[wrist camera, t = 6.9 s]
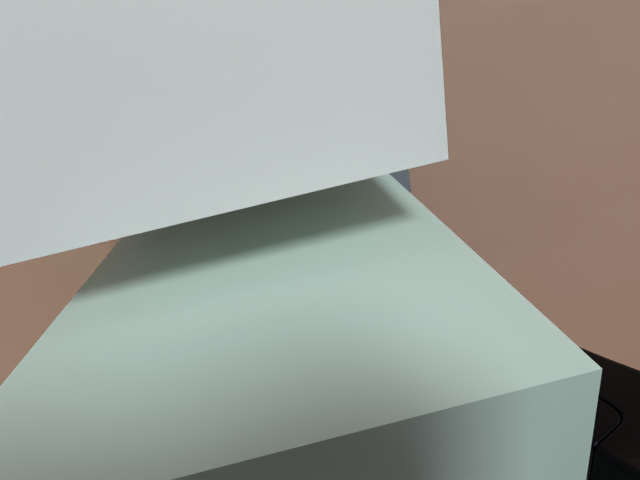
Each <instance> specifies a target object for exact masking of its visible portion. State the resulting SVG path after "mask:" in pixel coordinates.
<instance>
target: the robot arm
mask: <svg viewBox="0 0 640 480" xmlns="http://www.w3.org/2000/svg"><path fill="white" fill-rule="evenodd" d="M579 348H580V347H579ZM580 349H581V350H582V351H584V352H585V353H586V354H587V355H588V356H589V357H590V358H591V359H592V360H593V361H594V362H596V363H597V364H598V365H599V366H600V367H601V368H602V375H601V382H600V388H599V395H598V402H597V409H596V416H595V423H594V430H593V437H592V444H591V450H590V457H589V464H588V471H587V478H586V480H640V371H639V370H636V369H634V368H631V367H628V366H626V365H623V364H620V363H618V362H615V361H612V360H610V359H607V358H605V357H602V356H600V355H597V354H595V353H592V352H590V351H588V350H585V349H583V348H580Z"/></svg>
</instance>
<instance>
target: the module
mask: <svg viewBox="0 0 640 480" xmlns="http://www.w3.org/2000/svg"><path fill="white" fill-rule="evenodd" d="M601 375H602V368H601V367H600V366H599V365H598V364H597V363H596V362H594V361H593V360H592V359H591V358H590V357H589V356H588V355H587V354H586V353H585V352H584V351H582V350H581V349H580V348H579V347H578V346H577V345H576V344H575V343H574V342H573V341H572V340H570V339H569V338H568V337H567V336H566V335H565V334H564V333H563V332H562V331H561V330H559V329H558V328H557V327H556V326H555V325H554V324H553V323H552V322H551V321H550V320H549V319H547V318H546V317H545V316H544V315H543V314H542V313H541V312H540V311H539V310H538V309H537V308H535V307H534V306H533V305H532V304H531V303H530V302H529V301H528V300H527V299H526V298H525V297H523V296H522V295H521V294H520V293H519V292H518V291H517V290H516V289H515V288H514V287H512V286H511V285H510V284H509V283H508V282H507V281H506V280H505V279H504V278H503V277H502V276H500V275H499V274H498V273H497V272H496V271H495V270H494V269H493V268H492V267H491V266H490V265H488V264H487V263H486V262H485V261H484V260H483V259H482V258H481V257H480V256H479V255H478V254H476V253H475V252H474V251H473V250H472V249H471V248H470V247H469V246H468V245H467V244H465V243H464V242H463V241H462V240H461V239H460V238H459V237H458V236H457V235H456V234H455V233H453V232H452V231H451V230H450V229H449V228H448V227H447V226H446V225H445V224H444V223H443V222H441V221H440V220H439V219H438V218H437V217H436V216H435V215H434V214H433V213H432V212H431V211H429V210H428V209H427V208H426V207H425V206H424V205H423V204H422V203H421V202H420V201H418V200H417V199H416V198H415V197H414V196H413V195H412V194H411V193H410V192H409V191H408V190H406V189H405V188H404V187H403V186H402V185H401V184H400V183H399V182H398V181H397V180H396V179H394V178H393V177H392V176H391V175H390V174H385V175H381V176H377V177H372V178H368V179H364V180H360V181H356V182H352V183H347V184H343V185H339V186H335V187H331V188H326V189H322V190H318V191H314V192H310V193H306V194H301V195H297V196H293V197H289V198H285V199H281V200H276V201H272V202H268V203H264V204H260V205H255V206H251V207H247V208H243V209H239V210H235V211H230V212H226V213H222V214H218V215H214V216H210V217H205V218H201V219H197V220H193V221H189V222H185V223H180V224H176V225H172V226H168V227H164V228H159V229H155V230H151V231H147V232H143V233H139V234H134V235H130V236H126V237H122V238H121V239H120V241H119V242H118V243H117V244H116V246H115V247H114V248H113V249H112V250H111V252H110V253H109V254H108V255H107V257H106V258H105V259H104V260H103V261H102V263H101V264H100V265H99V266H98V268H97V269H96V270H95V271H94V272H93V274H92V275H91V276H90V277H89V279H88V280H87V281H86V282H85V283H84V285H83V286H82V287H81V288H80V290H79V291H78V292H77V293H76V294H75V296H74V297H73V298H72V299H71V301H70V302H69V303H68V304H67V306H66V307H65V308H64V309H63V310H62V312H61V313H60V314H59V315H58V317H57V318H56V319H55V320H54V321H53V323H52V324H51V325H50V326H49V328H48V329H47V330H46V331H45V332H44V334H43V335H42V336H41V337H40V339H39V340H38V341H37V342H36V343H35V345H34V346H33V347H32V348H31V350H30V351H29V352H28V353H27V354H26V356H25V357H24V358H23V359H22V361H21V362H20V363H19V364H18V365H17V367H16V368H15V369H14V370H13V372H12V373H11V374H10V375H9V376H8V378H7V379H6V380H5V381H4V383H3V384H2V385H1V386H0V480H586V478H587V471H588V464H589V457H590V450H591V444H592V437H593V430H594V423H595V416H596V409H597V402H598V395H599V388H600V382H601Z"/></svg>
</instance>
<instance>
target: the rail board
mask: <svg viewBox="0 0 640 480" xmlns="http://www.w3.org/2000/svg"><path fill="white" fill-rule="evenodd" d="M443 160H448V145H447V129H446V113H445V97H444V81H443V65H442V49H441V33H440V17H439V2H438V0H0V267H1V266H5V265H9V264H13V263H17V262H22V261H26V260H30V259H34V258H38V257H43V256H47V255H51V254H55V253H59V252H63V251H68V250H72V249H76V248H80V247H84V246H88V245H93V244H97V243H101V242H105V241H109V240H114V239H118V238H122V237H126V236H130V235H134V234H139V233H143V232H147V231H151V230H155V229H159V228H164V227H168V226H172V225H176V224H180V223H185V222H189V221H193V220H197V219H201V218H205V217H210V216H214V215H218V214H222V213H226V212H230V211H235V210H239V209H243V208H247V207H251V206H255V205H260V204H264V203H268V202H272V201H276V200H281V199H285V198H289V197H293V196H297V195H301V194H306V193H310V192H314V191H318V190H322V189H326V188H331V187H335V186H339V185H343V184H347V183H352V182H356V181H360V180H364V179H368V178H372V177H377V176H381V175H385V174H390V175H391V176H392V177H393V178H394V179H396V180H397V181H398V182H399V183H400V184H401V185H402V186H403V187H404V188H405V189H406V190H408V191H409V192H410V193H411V189H410V180H409V171H408V169H410V168H414V167H418V166H423V165H427V164H431V163H435V162H439V161H443Z"/></svg>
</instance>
